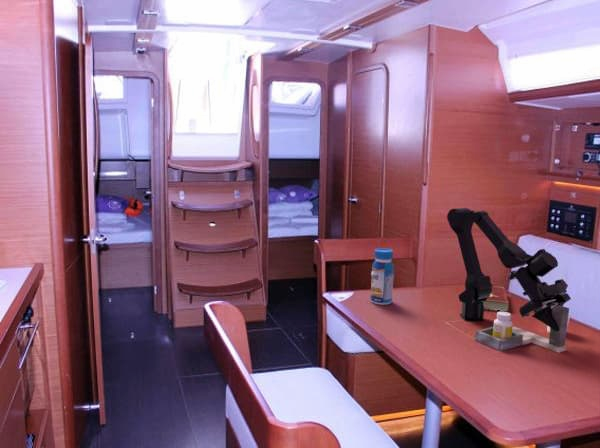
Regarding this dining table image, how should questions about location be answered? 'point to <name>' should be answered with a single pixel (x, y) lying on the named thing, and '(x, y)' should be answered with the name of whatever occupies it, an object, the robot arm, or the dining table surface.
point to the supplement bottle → (502, 326)
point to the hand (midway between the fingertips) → (561, 329)
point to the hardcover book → (497, 300)
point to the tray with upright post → (530, 335)
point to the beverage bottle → (382, 277)
